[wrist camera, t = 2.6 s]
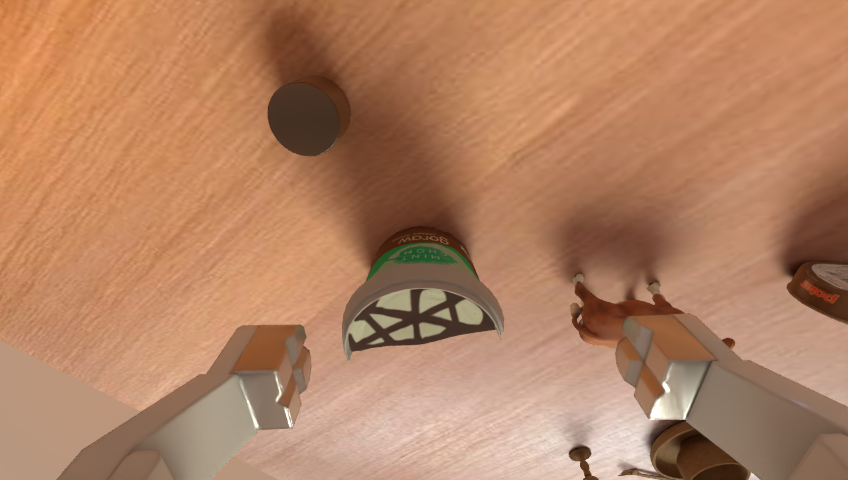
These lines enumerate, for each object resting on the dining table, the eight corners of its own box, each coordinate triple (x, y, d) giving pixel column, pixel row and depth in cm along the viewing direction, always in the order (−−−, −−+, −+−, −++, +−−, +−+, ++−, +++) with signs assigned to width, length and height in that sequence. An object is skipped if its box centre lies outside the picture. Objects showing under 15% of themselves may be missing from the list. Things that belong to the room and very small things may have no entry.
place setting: (687, 485, 53) (715, 533, 48) (563, 459, 50) (579, 508, 45) (779, 409, 45) (825, 457, 40) (638, 373, 42) (669, 420, 37)
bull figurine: (670, 321, 38) (727, 386, 31) (548, 298, 37) (579, 362, 30) (694, 287, 36) (761, 349, 29) (566, 262, 35) (603, 321, 28)
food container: (479, 202, 32) (500, 265, 23) (487, 262, 35) (509, 338, 26) (341, 227, 33) (312, 297, 24) (360, 283, 36) (340, 363, 27)
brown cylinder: (280, 77, 27) (259, 83, 23) (346, 75, 27) (334, 81, 23) (293, 143, 29) (276, 157, 26) (354, 141, 29) (344, 155, 26)
